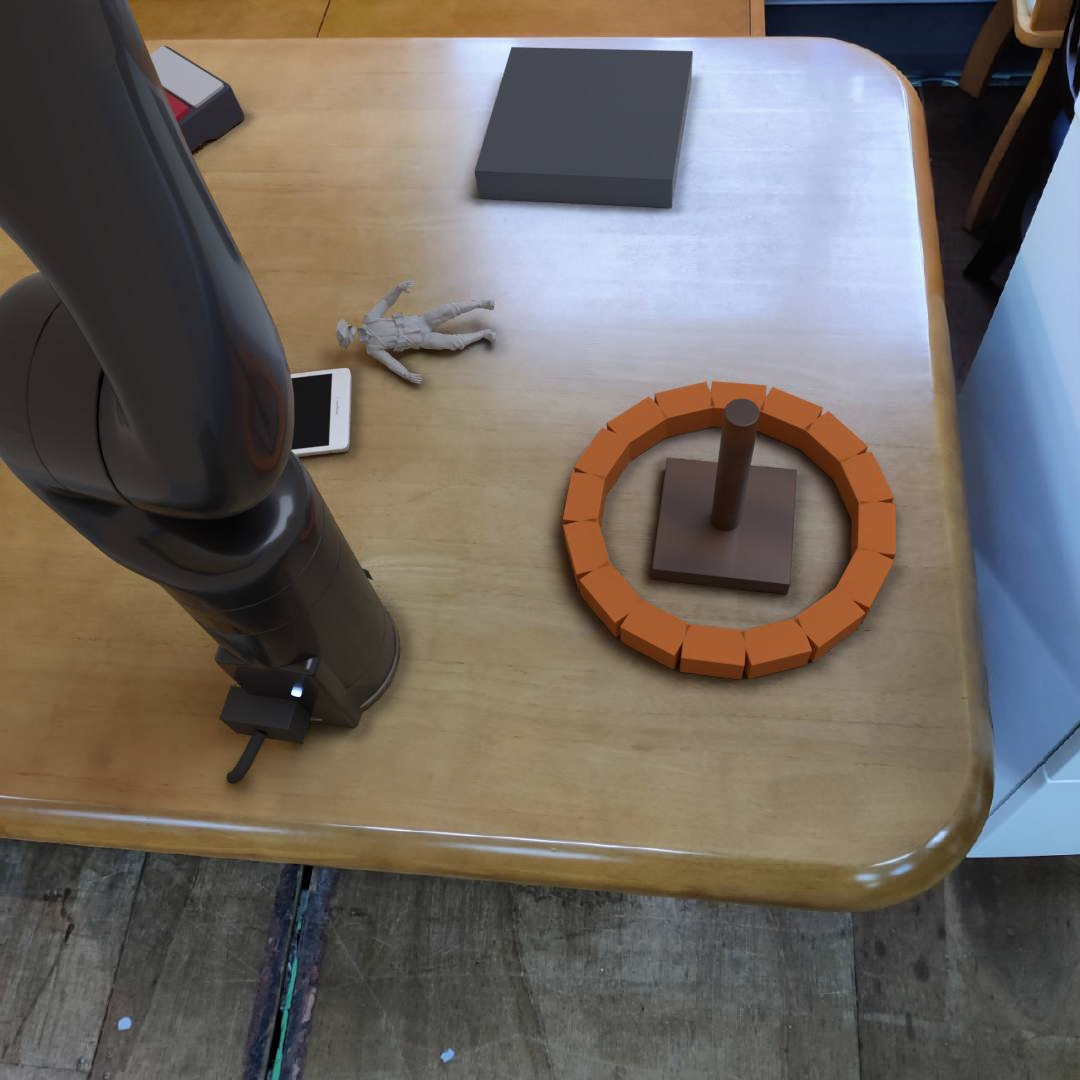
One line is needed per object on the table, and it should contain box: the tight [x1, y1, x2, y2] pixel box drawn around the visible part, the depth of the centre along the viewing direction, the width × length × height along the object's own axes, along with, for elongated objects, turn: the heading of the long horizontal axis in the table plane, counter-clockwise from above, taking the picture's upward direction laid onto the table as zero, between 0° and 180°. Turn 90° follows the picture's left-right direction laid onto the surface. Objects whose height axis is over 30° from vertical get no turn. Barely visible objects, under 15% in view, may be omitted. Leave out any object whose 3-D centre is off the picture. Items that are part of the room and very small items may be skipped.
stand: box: [474, 46, 694, 209], centre depth 85 cm, size 17×17×3 cm
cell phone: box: [290, 367, 353, 458], centre depth 74 cm, size 8×16×1 cm, turn 94°
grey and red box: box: [149, 45, 245, 153], centre depth 91 cm, size 11×4×15 cm
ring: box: [562, 380, 897, 680], centre depth 65 cm, size 22×22×2 cm
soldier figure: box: [335, 280, 497, 385], centre depth 75 cm, size 8×5×12 cm
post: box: [651, 398, 798, 595], centre depth 60 cm, size 9×9×14 cm
